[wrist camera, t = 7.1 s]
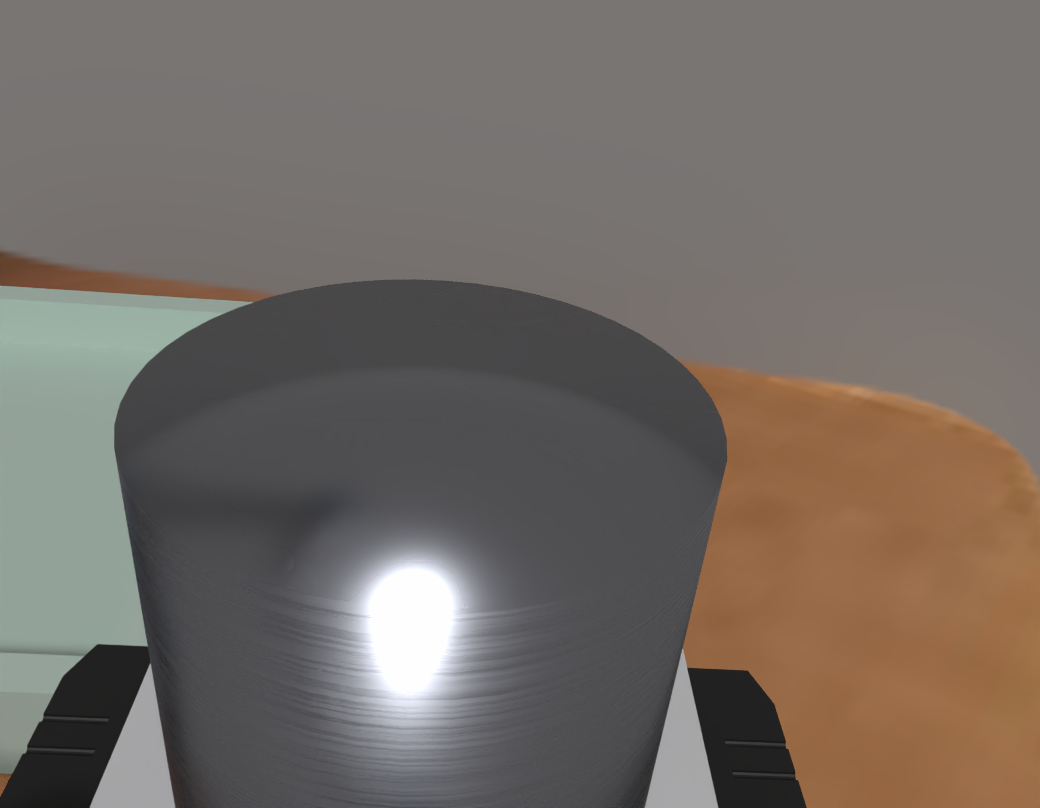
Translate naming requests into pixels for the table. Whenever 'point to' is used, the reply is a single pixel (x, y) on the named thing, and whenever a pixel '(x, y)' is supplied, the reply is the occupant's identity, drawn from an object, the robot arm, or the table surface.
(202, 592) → the pin
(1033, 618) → the table surface
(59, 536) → the tray
